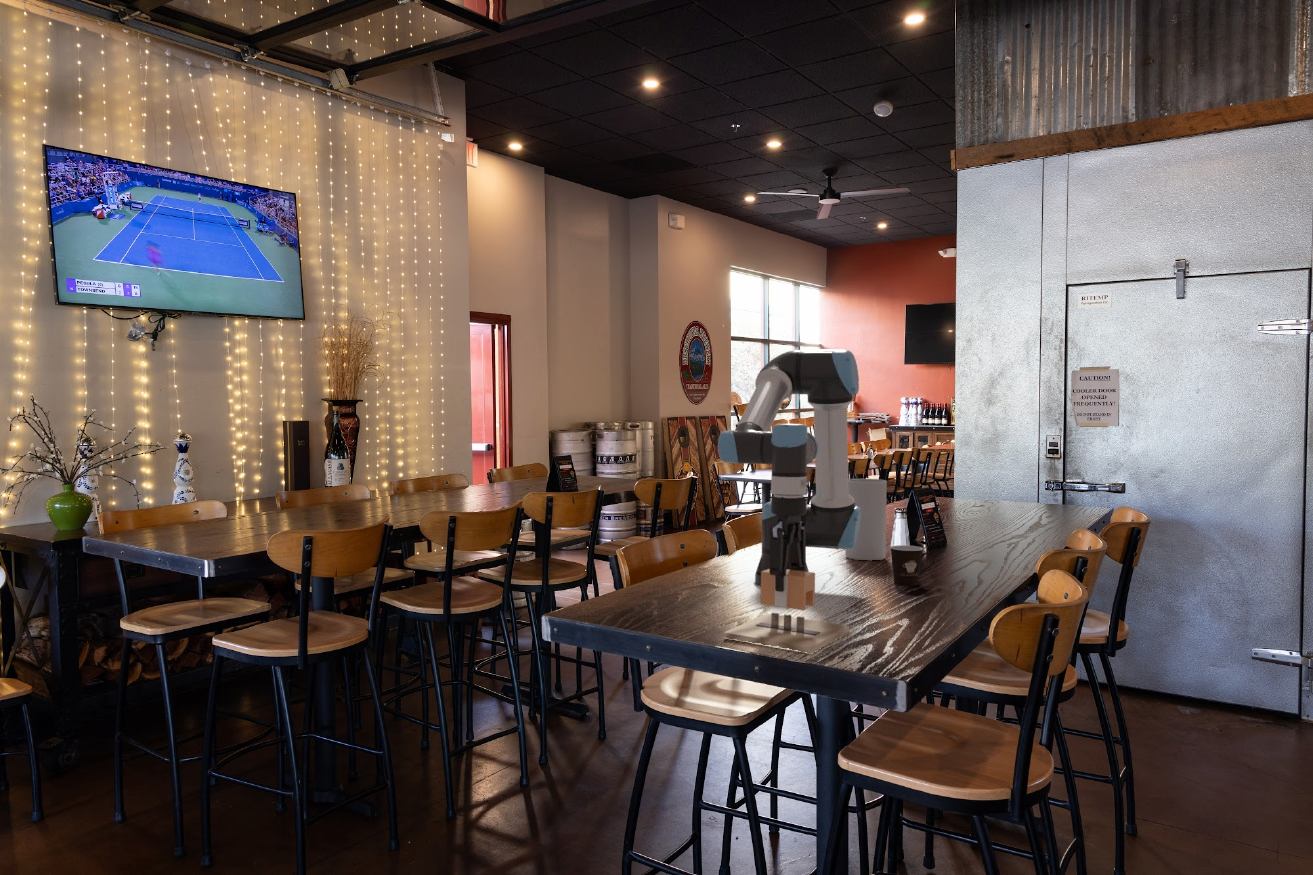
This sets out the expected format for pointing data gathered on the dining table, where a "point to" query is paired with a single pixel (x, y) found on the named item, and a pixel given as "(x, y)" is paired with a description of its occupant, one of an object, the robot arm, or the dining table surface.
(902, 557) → the coffee mug
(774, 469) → the robot arm
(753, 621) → the board
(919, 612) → the dining table surface
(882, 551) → the cylinder vase
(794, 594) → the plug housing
